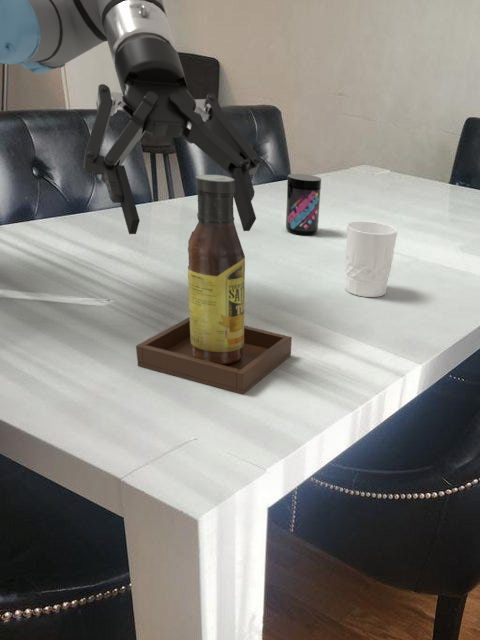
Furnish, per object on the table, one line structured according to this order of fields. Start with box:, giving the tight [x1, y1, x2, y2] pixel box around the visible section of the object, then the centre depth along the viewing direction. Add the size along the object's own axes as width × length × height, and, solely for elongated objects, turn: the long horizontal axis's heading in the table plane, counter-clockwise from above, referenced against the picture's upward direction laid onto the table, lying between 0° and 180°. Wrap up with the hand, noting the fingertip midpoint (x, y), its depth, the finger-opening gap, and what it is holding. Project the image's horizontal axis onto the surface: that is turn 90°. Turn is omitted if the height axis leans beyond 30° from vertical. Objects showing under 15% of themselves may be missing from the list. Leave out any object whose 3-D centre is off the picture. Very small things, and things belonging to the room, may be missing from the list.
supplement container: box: [285, 173, 322, 236], centre depth 131 cm, size 7×7×10 cm
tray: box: [135, 316, 293, 395], centre depth 77 cm, size 14×13×2 cm
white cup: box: [344, 220, 398, 298], centre depth 104 cm, size 8×8×10 cm
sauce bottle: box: [187, 174, 246, 365], centre depth 72 cm, size 6×6×20 cm
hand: (194, 226), depth 74 cm, fingers open, 13 cm apart
